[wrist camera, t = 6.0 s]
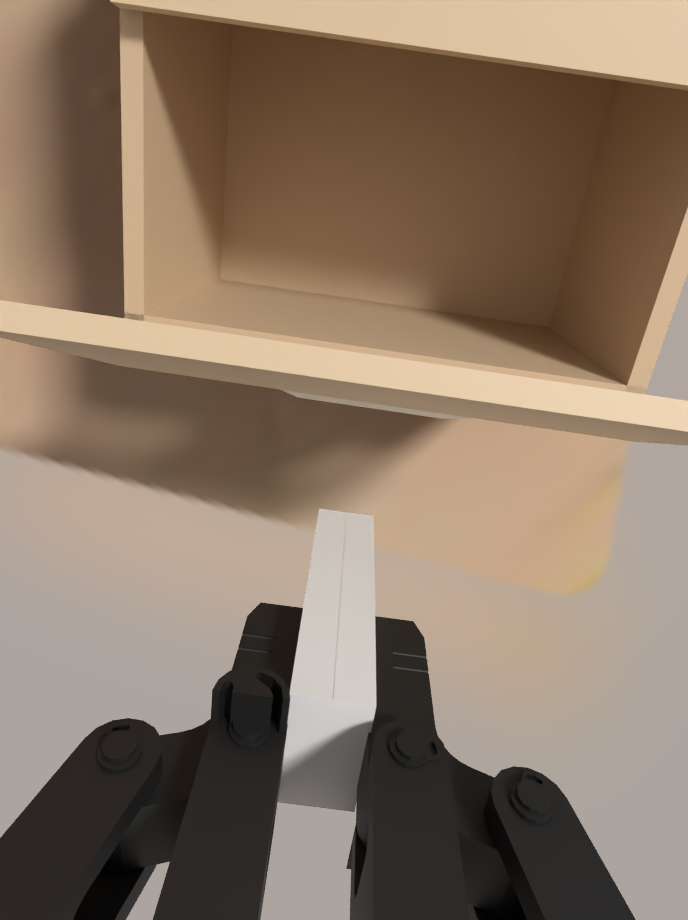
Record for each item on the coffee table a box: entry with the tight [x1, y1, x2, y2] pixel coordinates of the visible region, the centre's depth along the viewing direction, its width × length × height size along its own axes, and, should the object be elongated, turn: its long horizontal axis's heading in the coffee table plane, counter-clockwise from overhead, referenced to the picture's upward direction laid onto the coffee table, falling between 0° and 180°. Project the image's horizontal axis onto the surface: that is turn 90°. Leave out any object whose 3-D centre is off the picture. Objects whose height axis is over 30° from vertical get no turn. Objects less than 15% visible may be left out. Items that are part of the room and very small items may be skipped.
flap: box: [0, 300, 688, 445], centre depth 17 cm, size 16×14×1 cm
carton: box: [119, 8, 688, 395], centre depth 19 cm, size 16×16×10 cm
